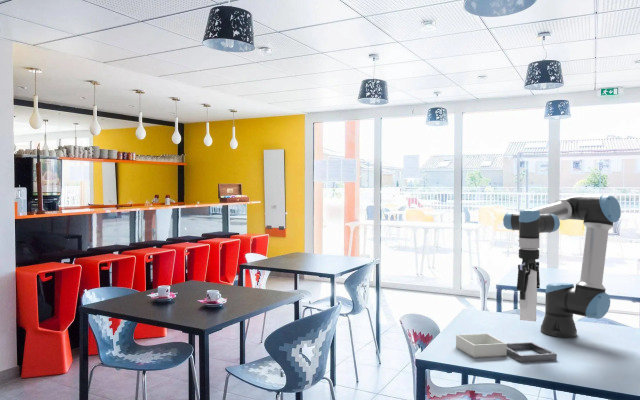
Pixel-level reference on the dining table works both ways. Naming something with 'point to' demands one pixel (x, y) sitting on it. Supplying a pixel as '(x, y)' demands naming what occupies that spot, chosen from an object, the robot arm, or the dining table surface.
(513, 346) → the collar
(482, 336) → the bin
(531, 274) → the milk
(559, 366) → the dining table surface
